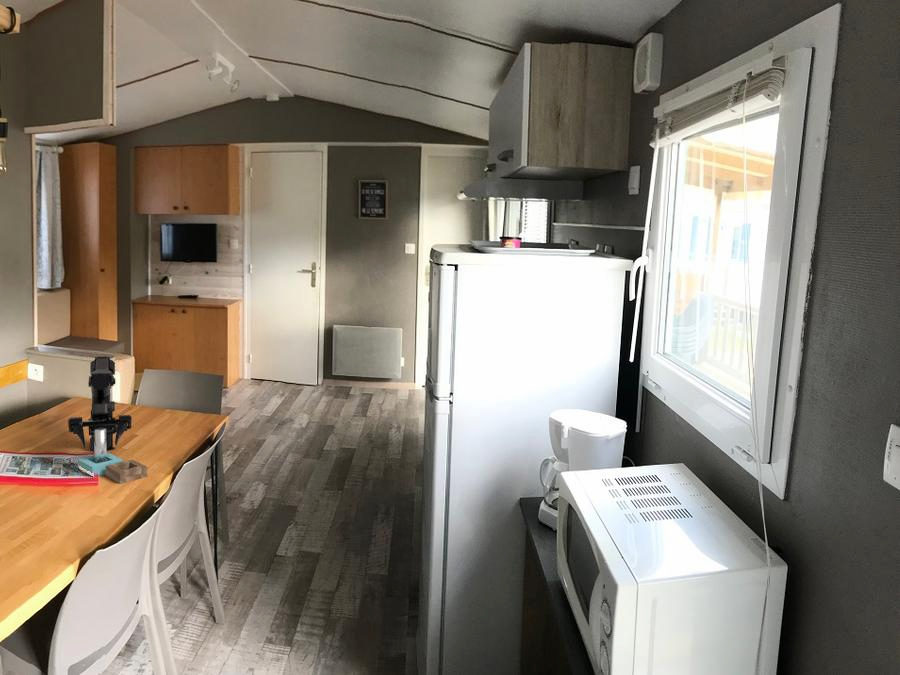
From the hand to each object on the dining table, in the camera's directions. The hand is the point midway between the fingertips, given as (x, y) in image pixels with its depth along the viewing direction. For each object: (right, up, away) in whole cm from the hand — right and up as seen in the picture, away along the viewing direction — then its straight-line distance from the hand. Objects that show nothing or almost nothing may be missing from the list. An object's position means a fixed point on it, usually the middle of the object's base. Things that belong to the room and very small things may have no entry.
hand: (100, 446), depth 217 cm
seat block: (-1, -8, +3) cm, 9 cm away
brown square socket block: (+9, -10, -1) cm, 14 cm away
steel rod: (-1, -8, +3) cm, 9 cm away
